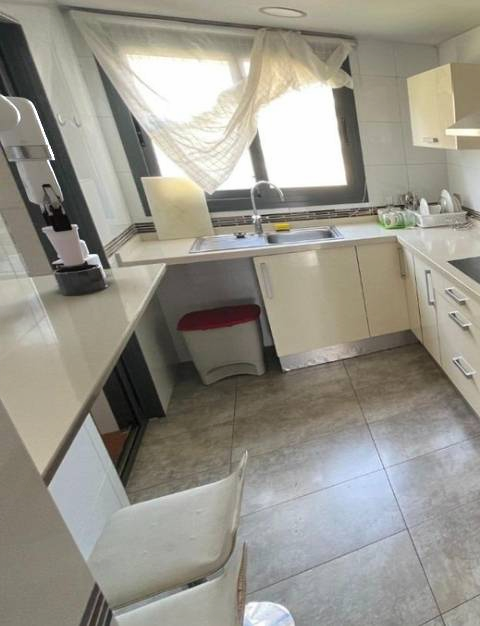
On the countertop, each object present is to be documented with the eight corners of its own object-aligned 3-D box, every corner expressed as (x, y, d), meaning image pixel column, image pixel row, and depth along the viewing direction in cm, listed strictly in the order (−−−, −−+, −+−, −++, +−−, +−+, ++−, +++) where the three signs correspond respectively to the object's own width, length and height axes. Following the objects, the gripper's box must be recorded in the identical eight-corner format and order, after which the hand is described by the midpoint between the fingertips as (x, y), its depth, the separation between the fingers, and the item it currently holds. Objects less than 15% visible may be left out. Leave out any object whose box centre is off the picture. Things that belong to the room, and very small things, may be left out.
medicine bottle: (61, 288, 123) (43, 244, 118) (74, 281, 129) (57, 239, 124) (96, 285, 125) (79, 241, 121) (107, 278, 131) (91, 236, 127)
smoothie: (65, 268, 114) (42, 211, 109) (51, 265, 116) (27, 210, 111) (97, 261, 120) (76, 207, 115) (83, 259, 122) (61, 206, 117)
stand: (57, 298, 115) (47, 275, 113) (66, 289, 122) (57, 267, 120) (104, 291, 120) (95, 269, 118) (110, 283, 127) (102, 262, 124)
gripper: (0, 154, 110) (32, 228, 117) (12, 155, 101) (46, 236, 107) (45, 153, 116) (72, 223, 122) (60, 154, 106) (89, 230, 113)
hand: (60, 228), depth 115 cm, fingers closed on smoothie, 6 cm apart
